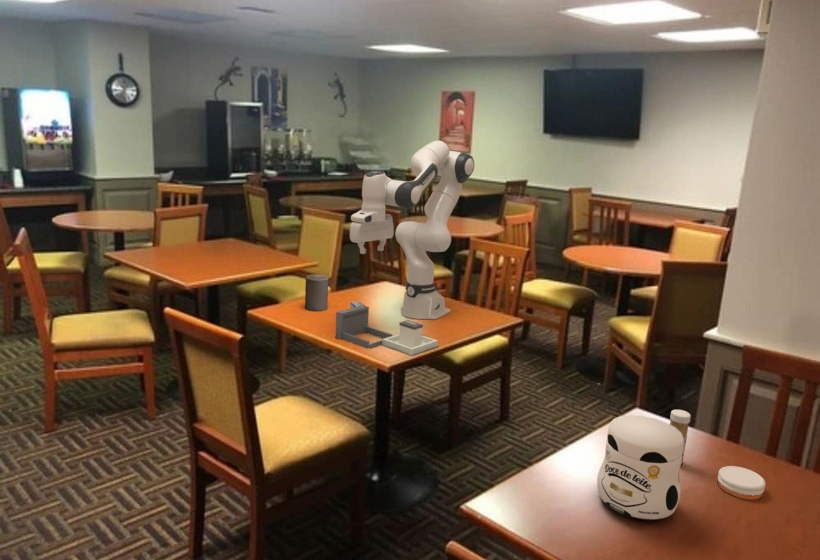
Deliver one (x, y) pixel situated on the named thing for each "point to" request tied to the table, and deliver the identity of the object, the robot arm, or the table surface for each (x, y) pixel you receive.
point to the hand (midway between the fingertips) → (371, 252)
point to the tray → (425, 345)
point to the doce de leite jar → (641, 468)
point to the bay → (357, 326)
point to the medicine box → (355, 304)
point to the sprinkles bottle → (680, 424)
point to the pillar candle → (316, 292)
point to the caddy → (410, 333)
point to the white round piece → (741, 480)
